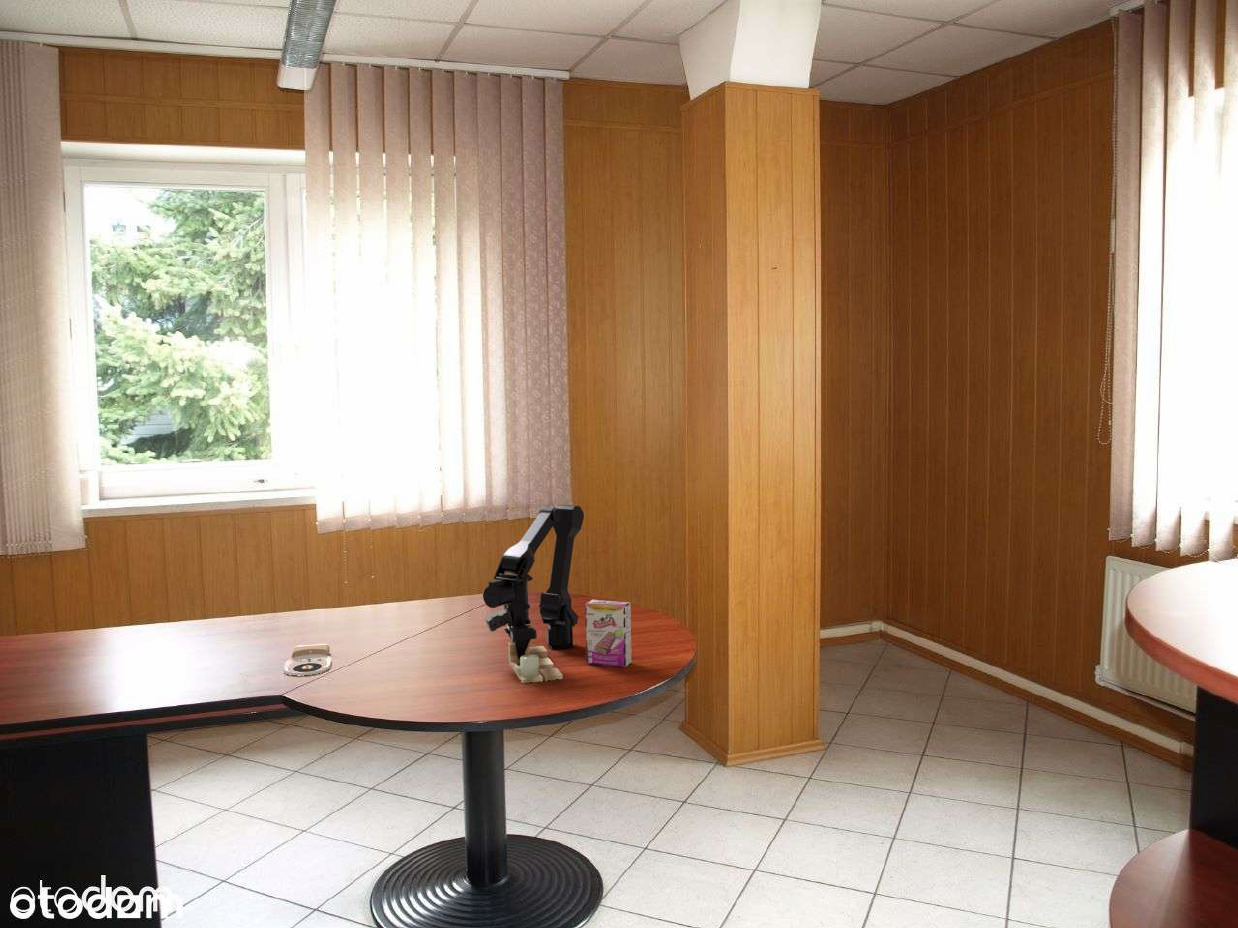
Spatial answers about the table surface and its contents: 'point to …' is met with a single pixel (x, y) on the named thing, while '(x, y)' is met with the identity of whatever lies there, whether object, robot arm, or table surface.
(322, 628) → the table surface
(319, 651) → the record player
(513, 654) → the beige long blocky piece
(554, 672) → the broken strip
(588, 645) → the candy bar box
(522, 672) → the mint rounded cylinder
